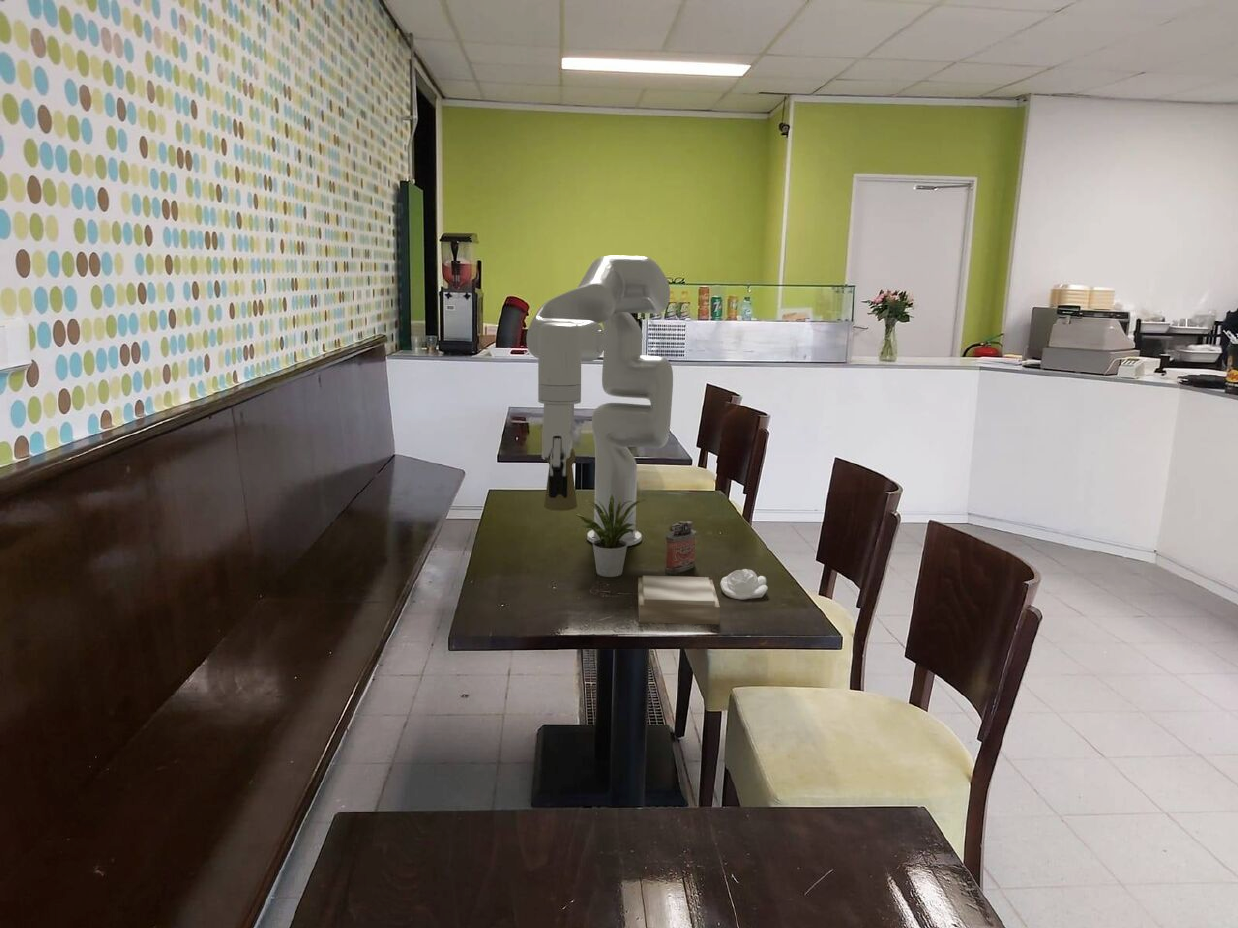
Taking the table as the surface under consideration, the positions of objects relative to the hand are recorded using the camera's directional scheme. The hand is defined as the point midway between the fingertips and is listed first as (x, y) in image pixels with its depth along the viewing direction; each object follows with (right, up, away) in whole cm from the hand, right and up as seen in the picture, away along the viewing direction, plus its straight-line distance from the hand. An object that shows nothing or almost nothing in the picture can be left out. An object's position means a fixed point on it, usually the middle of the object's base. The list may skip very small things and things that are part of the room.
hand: (559, 493), depth 156 cm
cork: (0, -2, +1) cm, 3 cm away
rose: (+35, -20, +12) cm, 42 cm away
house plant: (+10, -17, +22) cm, 29 cm away
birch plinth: (+21, -21, +2) cm, 30 cm away
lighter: (+24, -17, +24) cm, 38 cm away
